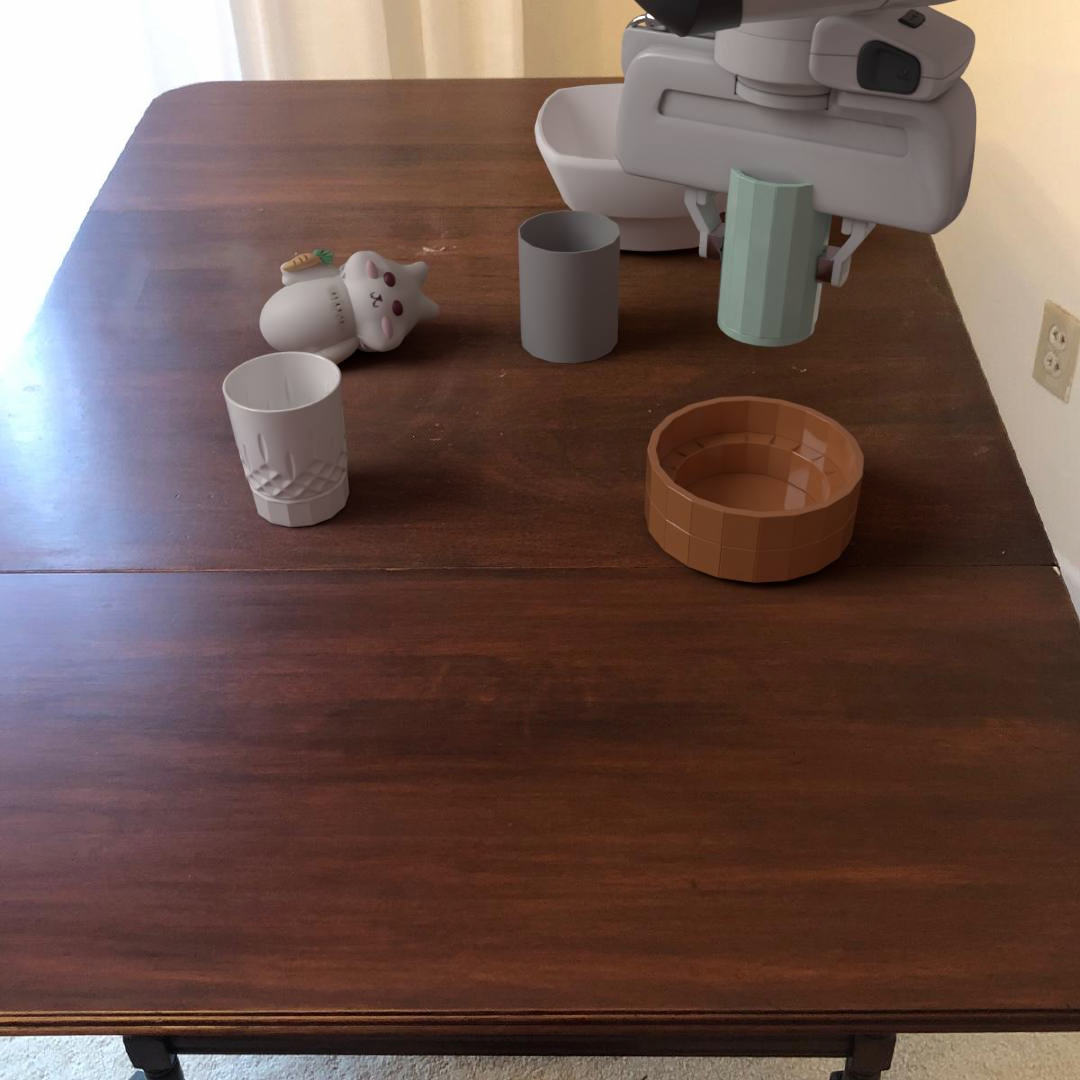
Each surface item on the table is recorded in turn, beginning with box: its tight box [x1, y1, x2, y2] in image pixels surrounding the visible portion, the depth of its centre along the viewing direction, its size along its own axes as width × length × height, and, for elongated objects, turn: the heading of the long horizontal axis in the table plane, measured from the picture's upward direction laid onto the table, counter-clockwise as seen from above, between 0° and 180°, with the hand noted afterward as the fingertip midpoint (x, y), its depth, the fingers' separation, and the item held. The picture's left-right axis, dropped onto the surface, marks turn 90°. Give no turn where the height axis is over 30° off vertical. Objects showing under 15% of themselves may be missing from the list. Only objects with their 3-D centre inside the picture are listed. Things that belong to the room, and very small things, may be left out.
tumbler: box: [716, 169, 833, 348], centre depth 72 cm, size 6×6×10 cm
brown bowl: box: [643, 395, 865, 584], centre depth 83 cm, size 14×14×6 cm
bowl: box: [534, 82, 727, 252], centre depth 119 cm, size 22×22×12 cm
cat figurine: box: [259, 248, 440, 366], centre depth 103 cm, size 10×8×15 cm
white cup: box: [222, 351, 350, 528], centre depth 85 cm, size 8×8×10 cm
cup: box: [517, 209, 621, 365], centre depth 103 cm, size 8×8×10 cm
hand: (772, 268), depth 73 cm, fingers closed on tumbler, 6 cm apart
